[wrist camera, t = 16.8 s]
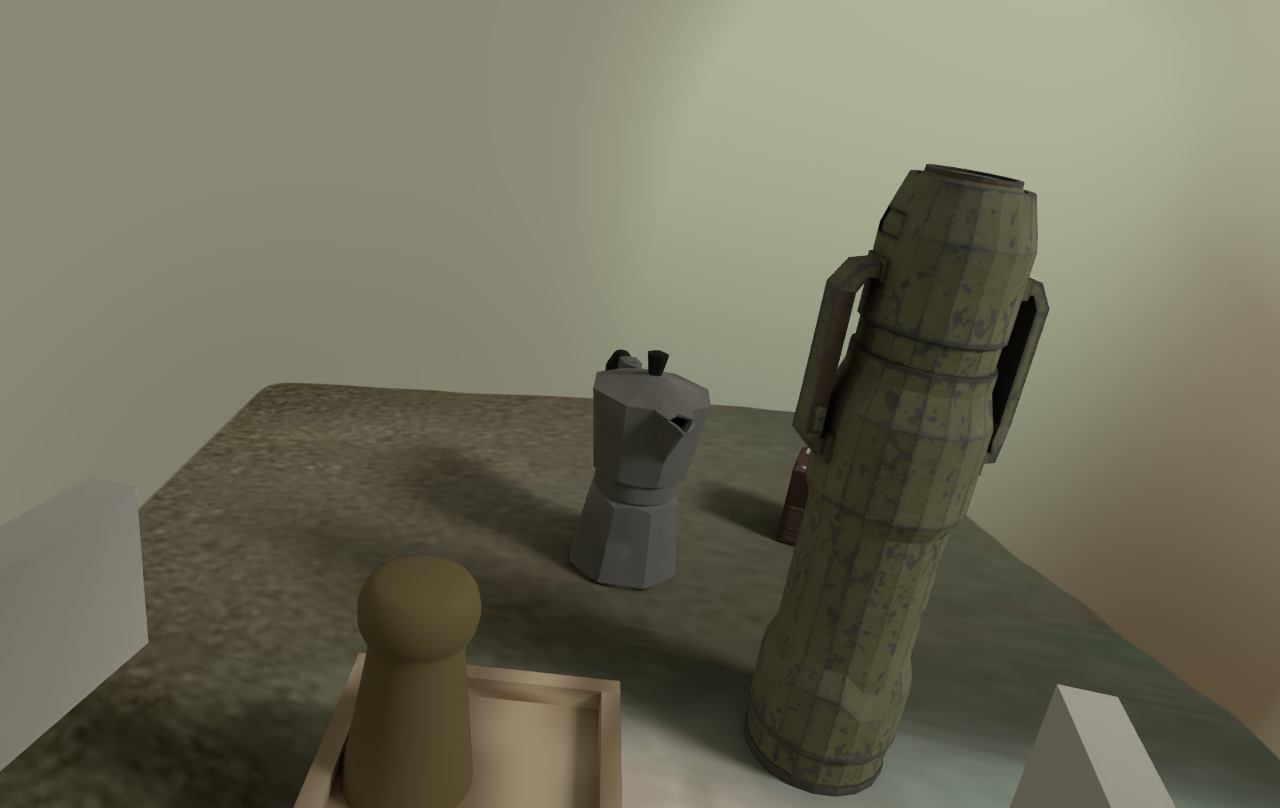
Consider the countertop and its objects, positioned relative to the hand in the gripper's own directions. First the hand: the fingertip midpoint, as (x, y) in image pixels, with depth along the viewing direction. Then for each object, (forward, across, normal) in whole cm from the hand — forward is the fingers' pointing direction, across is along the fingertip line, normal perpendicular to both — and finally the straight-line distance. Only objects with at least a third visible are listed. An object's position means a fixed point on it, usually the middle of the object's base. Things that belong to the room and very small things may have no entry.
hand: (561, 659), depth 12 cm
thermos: (+35, +10, -30) cm, 48 cm away
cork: (+20, -10, -25) cm, 33 cm away
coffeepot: (+53, -5, -30) cm, 61 cm away
